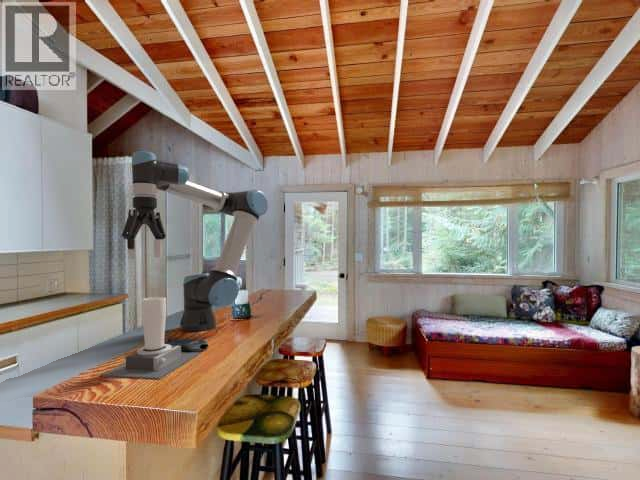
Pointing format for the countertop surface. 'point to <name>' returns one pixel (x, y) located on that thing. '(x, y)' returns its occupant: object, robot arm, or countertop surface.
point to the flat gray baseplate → (152, 363)
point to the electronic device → (187, 344)
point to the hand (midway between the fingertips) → (146, 258)
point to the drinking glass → (154, 322)
